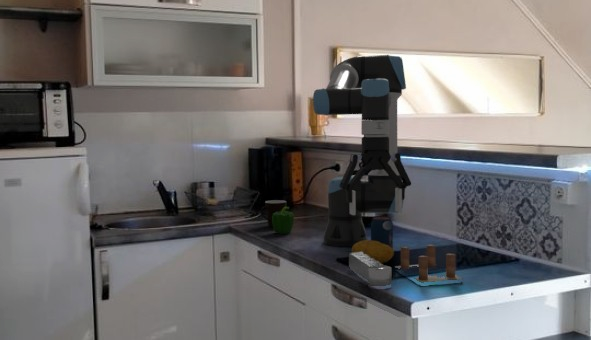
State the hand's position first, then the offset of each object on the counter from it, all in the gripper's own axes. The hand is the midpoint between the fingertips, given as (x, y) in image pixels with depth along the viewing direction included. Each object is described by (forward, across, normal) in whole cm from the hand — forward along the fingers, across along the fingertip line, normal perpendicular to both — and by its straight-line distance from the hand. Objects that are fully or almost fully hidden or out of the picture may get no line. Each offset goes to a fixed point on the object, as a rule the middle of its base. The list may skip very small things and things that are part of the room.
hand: (375, 213), depth 177 cm
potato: (+18, +5, +14) cm, 24 cm away
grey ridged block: (+18, -3, -1) cm, 18 cm away
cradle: (+18, +13, -5) cm, 23 cm away
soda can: (+18, +12, +24) cm, 32 cm away
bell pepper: (+18, -9, +71) cm, 74 cm away
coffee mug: (+18, -9, +86) cm, 88 cm away
